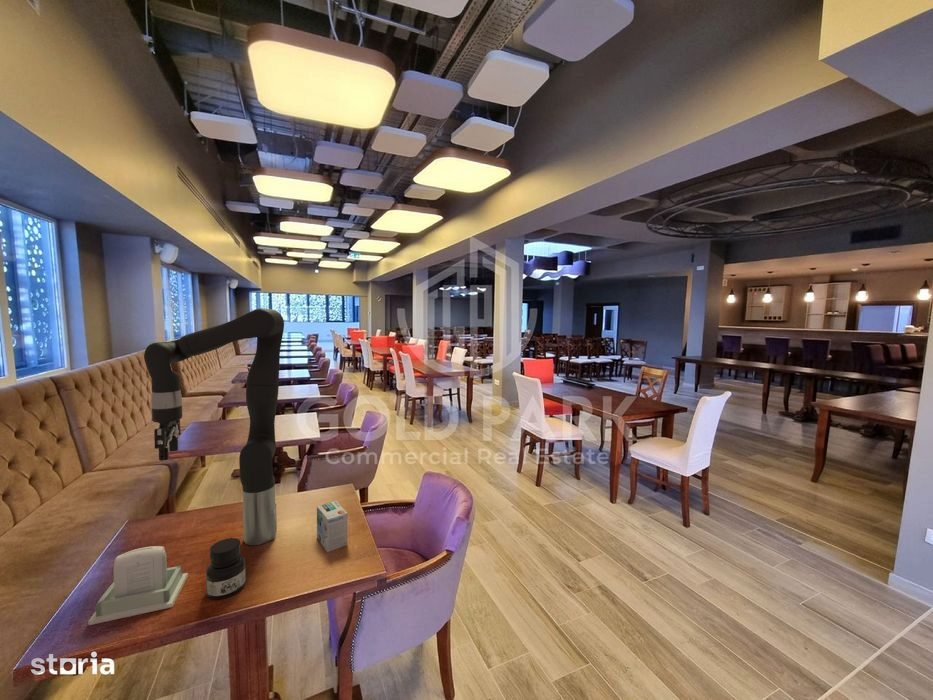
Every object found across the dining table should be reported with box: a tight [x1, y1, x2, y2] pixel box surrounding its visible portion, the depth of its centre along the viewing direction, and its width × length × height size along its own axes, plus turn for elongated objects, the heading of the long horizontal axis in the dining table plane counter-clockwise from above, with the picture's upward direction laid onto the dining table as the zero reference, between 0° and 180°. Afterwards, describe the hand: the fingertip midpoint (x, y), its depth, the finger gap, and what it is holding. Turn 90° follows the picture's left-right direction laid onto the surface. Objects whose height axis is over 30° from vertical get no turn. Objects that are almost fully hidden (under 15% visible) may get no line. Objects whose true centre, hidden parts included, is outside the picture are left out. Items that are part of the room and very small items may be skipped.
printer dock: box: [87, 565, 189, 626], centre depth 95 cm, size 16×12×4 cm
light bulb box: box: [316, 500, 348, 553], centre depth 121 cm, size 11×7×11 cm, turn 39°
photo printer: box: [113, 545, 168, 598], centre depth 94 cm, size 10×4×12 cm, turn 119°
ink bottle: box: [205, 537, 247, 600], centre depth 99 cm, size 10×9×12 cm
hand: (169, 455), depth 118 cm, fingers open, 8 cm apart
